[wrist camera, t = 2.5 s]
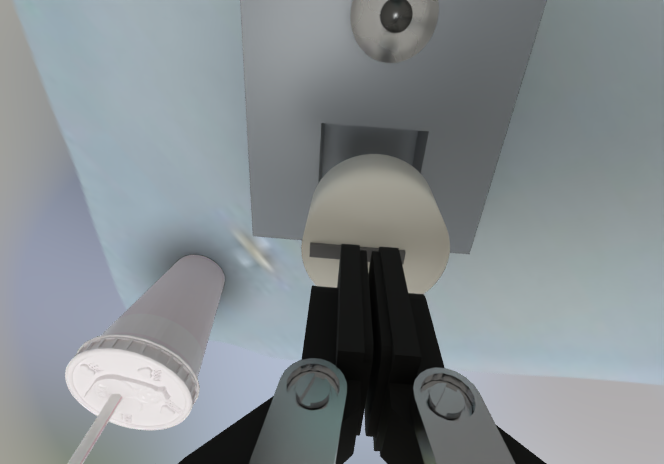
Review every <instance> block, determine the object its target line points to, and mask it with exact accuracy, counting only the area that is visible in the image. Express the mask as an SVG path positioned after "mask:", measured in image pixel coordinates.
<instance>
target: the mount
mask: <svg viewBox="0 0 664 464" xmlns="http://www.w3.org/2000/svg"><path fill="white" fill-rule="evenodd" d="M352 1H353V0H240V6H241V24H242V43H243V61H244V80H245V99H246V117H247V136H248V154H249V173H250V191H251V210H252V229H253V236H259V237H270V238H282V239H294V240H302V239H303V234H304V230H305V226H306V222H307V218H308V214H309V209H310V205H311V201H312V197H313V194H314V191H315V189H316V187H317V185H318V183H319V182H320V180H321V179H322V178H323V176H324V175H325V174H326V173H327V172H328V171H329V170H330V169H332V168H333V167H334V166H336V165H337V164H339V163H341V162H343V161H344V160H347V159H349V158H352V157H355V156H359V155H366V154H382V155H388V156H392V157H396V158H398V159H400V160H403V161H405V162H406V163H408V164H410V165H411V166H413V167H414V168H415V169H416V170H418V172H419V173H420V174H421V175H422V176H423V177H424V179H425V180H426V182H427V183H428V185H429V187H430V189H431V192H432V194H433V197H434V199H435V201H436V204H437V206H438V208H439V211H440V213H441V216H442V218H443V220H444V223H445V225H446V228H447V231H448V234H449V240H450V253H461V254H470V251H471V247H472V244H473V241H474V237H475V234H476V231H477V228H478V224H479V221H480V218H481V215H482V211H483V208H484V205H485V201H486V198H487V195H488V192H489V188H490V185H491V182H492V178H493V175H494V172H495V169H496V165H497V162H498V159H499V156H500V152H501V149H502V146H503V142H504V139H505V136H506V133H507V129H508V126H509V123H510V119H511V116H512V113H513V110H514V106H515V103H516V100H517V97H518V93H519V90H520V87H521V83H522V80H523V77H524V74H525V70H526V67H527V64H528V61H529V57H530V54H531V51H532V47H533V44H534V41H535V38H536V34H537V31H538V28H539V24H540V21H541V18H542V15H543V11H544V8H545V5H546V2H547V0H438V4H439V13H438V20H437V24H436V27H435V30H434V32H433V34H432V36H431V38H430V40H429V41H428V43H427V44H426V45H425V47H424V48H423V49H422V50H421V51H420V52H418V53H417V54H416V55H414V56H413V57H411V58H409V59H407V60H405V61H401V62H397V63H385V62H380V61H377V60H375V59H373V58H371V57H370V56H368V55H367V54H366V53H365V52H364V51H363V50H362V49H361V48H360V46H359V45H358V43H357V42H356V39H355V37H354V35H353V32H352V27H351V19H350V16H351V5H352Z"/></svg>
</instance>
